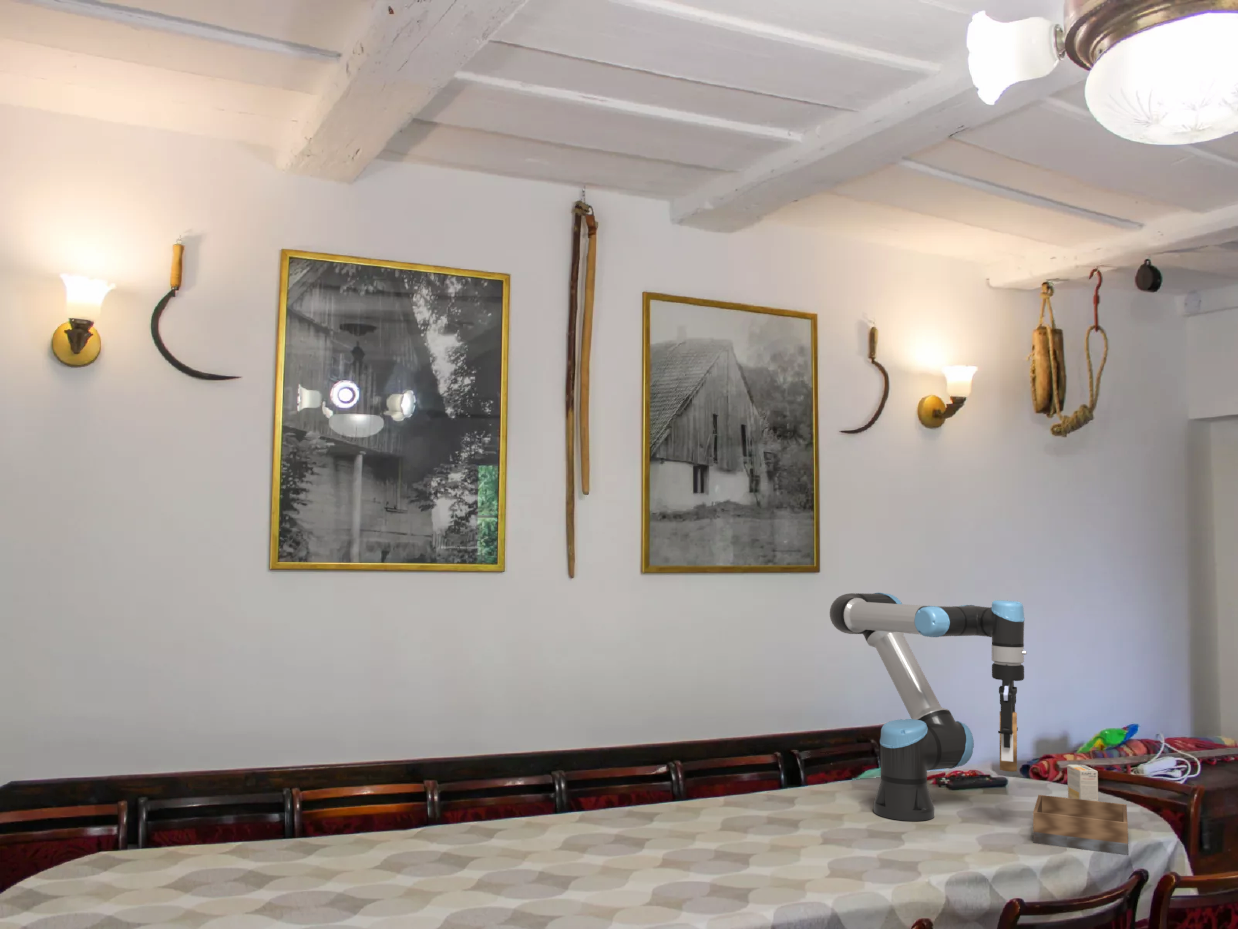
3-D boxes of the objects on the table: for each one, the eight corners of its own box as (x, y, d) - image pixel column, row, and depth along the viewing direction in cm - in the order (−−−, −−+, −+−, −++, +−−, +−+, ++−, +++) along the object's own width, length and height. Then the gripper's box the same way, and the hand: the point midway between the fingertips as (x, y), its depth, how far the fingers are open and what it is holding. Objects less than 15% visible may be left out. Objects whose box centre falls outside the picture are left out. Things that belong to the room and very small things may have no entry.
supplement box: (1099, 823, 263) (1098, 771, 264) (1080, 823, 263) (1079, 770, 264) (1085, 815, 271) (1085, 764, 272) (1067, 814, 271) (1066, 763, 272)
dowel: (998, 770, 256) (998, 712, 257) (1000, 767, 259) (1000, 710, 260) (1016, 772, 254) (1016, 714, 255) (1017, 769, 258) (1017, 711, 258)
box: (1033, 842, 244) (1033, 812, 245) (1038, 823, 263) (1038, 794, 263) (1128, 855, 236) (1127, 823, 236) (1127, 833, 254) (1126, 804, 254)
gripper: (1021, 668, 249) (1021, 767, 247) (1026, 661, 264) (1026, 754, 263) (988, 665, 252) (988, 763, 251) (995, 658, 268) (995, 751, 266)
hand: (1008, 758), depth 257 cm, fingers closed on dowel, 4 cm apart
